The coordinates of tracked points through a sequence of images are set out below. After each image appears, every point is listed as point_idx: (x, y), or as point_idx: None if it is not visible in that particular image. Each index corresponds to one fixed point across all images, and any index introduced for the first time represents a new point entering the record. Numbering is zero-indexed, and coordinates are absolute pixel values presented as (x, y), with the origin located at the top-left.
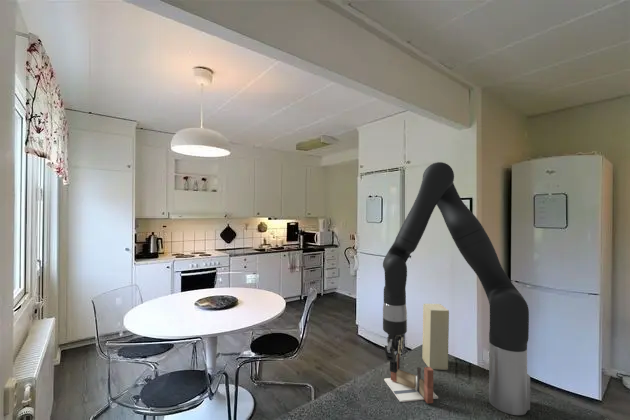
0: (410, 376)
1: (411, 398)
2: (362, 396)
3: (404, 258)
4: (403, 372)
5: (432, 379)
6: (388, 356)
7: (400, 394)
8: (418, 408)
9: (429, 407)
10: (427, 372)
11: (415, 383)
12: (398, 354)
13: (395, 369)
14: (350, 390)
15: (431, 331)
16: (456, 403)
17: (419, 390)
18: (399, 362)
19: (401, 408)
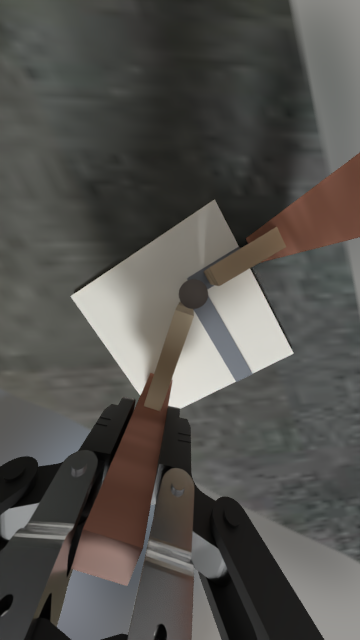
0: (186, 336)
1: (265, 314)
2: (291, 466)
3: None
4: (170, 376)
5: None
6: (236, 600)
7: (248, 355)
8: (313, 284)
9: None
10: None
11: (181, 304)
12: (89, 488)
13: (177, 424)
14: (267, 501)
15: None
16: (225, 111)
17: (211, 284)
18: (114, 422)
19: (329, 344)
